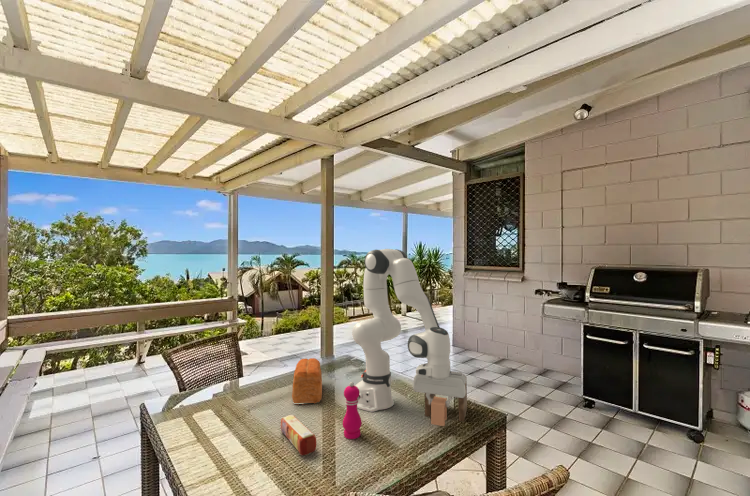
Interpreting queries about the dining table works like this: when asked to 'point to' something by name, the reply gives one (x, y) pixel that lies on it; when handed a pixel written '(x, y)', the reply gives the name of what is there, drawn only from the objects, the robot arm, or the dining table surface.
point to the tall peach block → (438, 411)
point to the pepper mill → (351, 413)
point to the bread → (307, 381)
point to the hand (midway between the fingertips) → (439, 405)
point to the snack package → (298, 435)
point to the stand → (461, 405)
